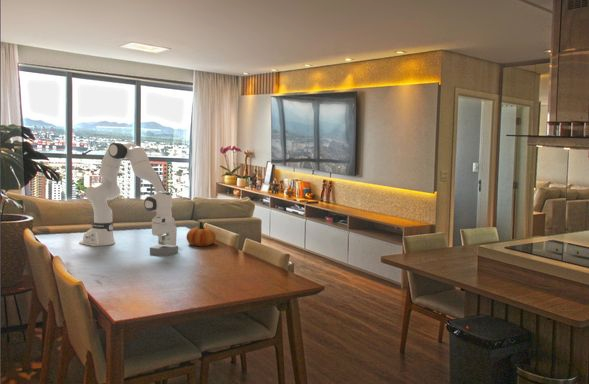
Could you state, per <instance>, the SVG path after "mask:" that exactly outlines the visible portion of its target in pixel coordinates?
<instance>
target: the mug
mask: <svg viewBox="0 0 589 384" xmlns="http://www.w3.org/2000/svg"><path fill="white" fill-rule="evenodd" d="M177 228H178V227H177V226H175V231H173V232H170V244H167V245H176V246H177V235H178V234H177V233H178V229H177ZM162 235H164V234H162Z"/></svg>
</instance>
